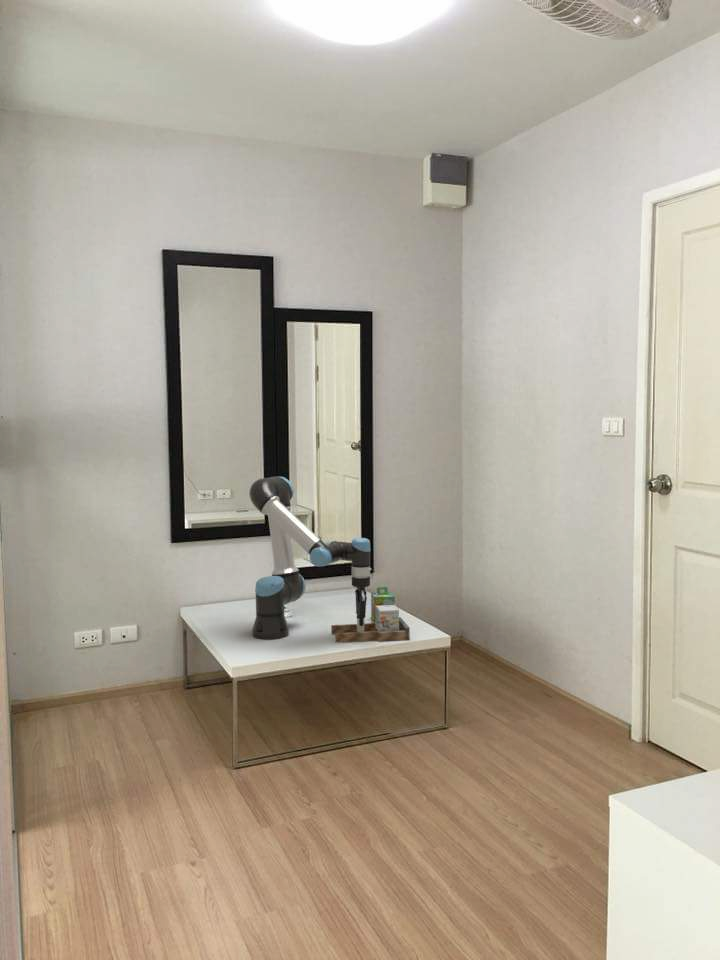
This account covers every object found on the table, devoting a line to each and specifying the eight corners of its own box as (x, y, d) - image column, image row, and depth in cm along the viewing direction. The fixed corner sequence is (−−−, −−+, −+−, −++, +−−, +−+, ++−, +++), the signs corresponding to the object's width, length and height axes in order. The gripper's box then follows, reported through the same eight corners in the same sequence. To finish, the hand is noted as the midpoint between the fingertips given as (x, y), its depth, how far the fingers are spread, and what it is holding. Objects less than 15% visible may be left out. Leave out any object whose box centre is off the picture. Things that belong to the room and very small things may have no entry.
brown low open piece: (336, 643, 324) (336, 631, 324) (330, 632, 341) (330, 620, 340) (409, 639, 329) (409, 627, 329) (400, 628, 346) (400, 617, 345)
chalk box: (374, 623, 355) (373, 590, 353) (370, 618, 364) (370, 585, 362) (395, 622, 356) (394, 589, 355) (391, 617, 365) (390, 584, 364)
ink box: (378, 638, 331) (378, 610, 330) (375, 633, 340) (375, 605, 339) (399, 637, 332) (399, 609, 331) (395, 632, 341) (395, 604, 340)
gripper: (373, 579, 327) (372, 636, 329) (366, 572, 340) (366, 628, 342) (354, 580, 325) (354, 637, 328) (349, 573, 338) (349, 629, 340)
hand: (360, 632), depth 335 cm, fingers closed
